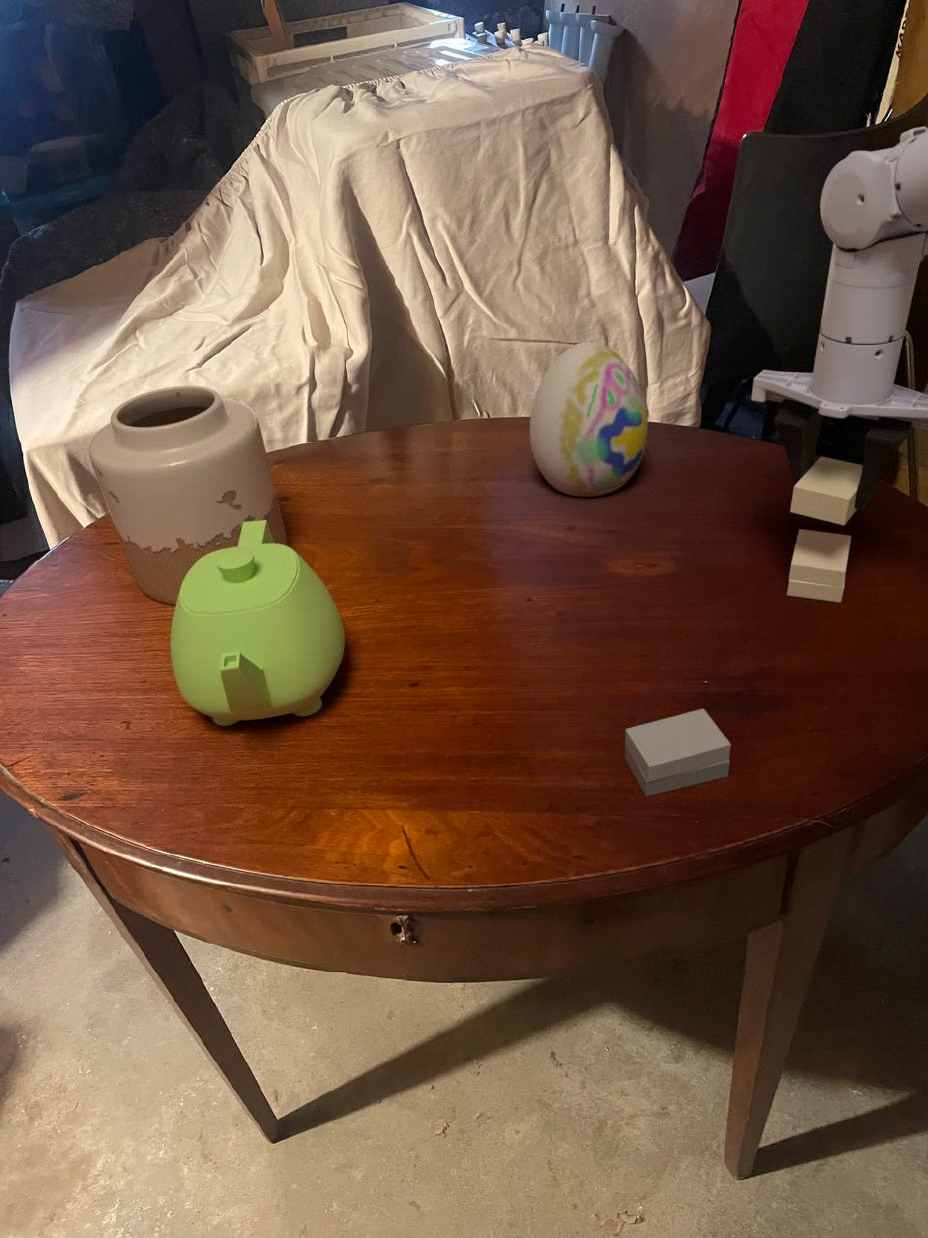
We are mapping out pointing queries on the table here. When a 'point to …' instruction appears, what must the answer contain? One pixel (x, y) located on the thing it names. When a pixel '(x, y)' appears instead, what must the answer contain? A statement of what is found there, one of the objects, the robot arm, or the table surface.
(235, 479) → the vase
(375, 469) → the table surface
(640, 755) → the grey box
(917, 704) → the table surface
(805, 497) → the cream rectangular block
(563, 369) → the decorative egg
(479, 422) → the table surface
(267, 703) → the teapot
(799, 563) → the cream seamed block
